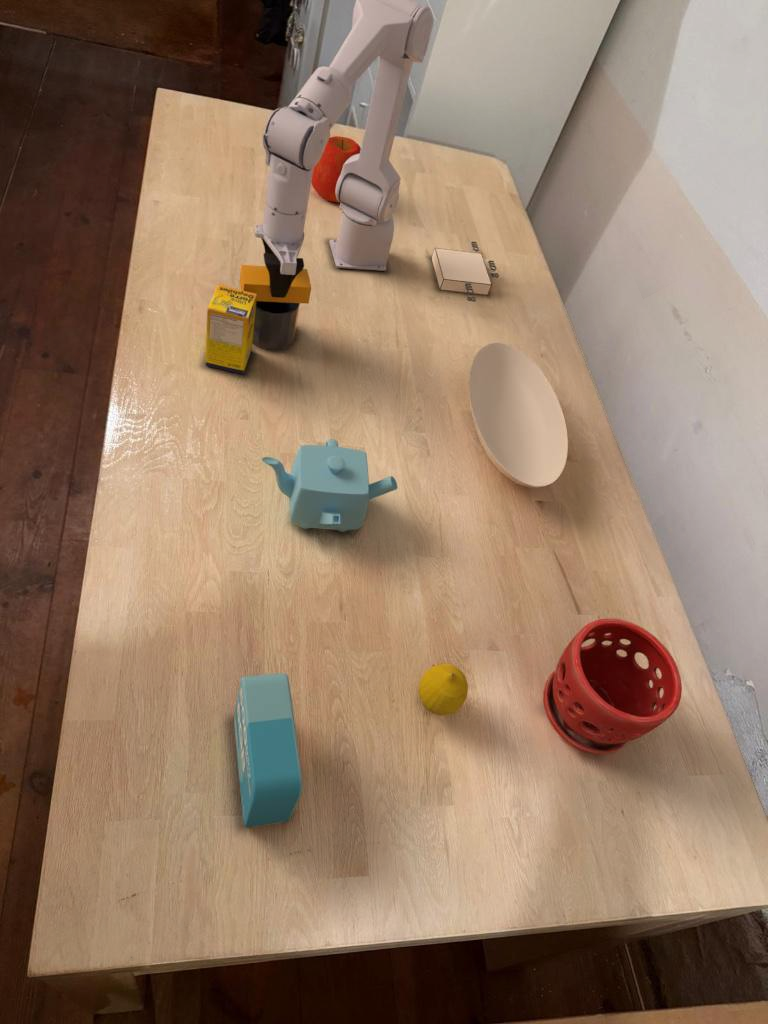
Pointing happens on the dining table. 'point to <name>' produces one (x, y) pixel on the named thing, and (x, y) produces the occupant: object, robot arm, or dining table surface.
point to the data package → (267, 750)
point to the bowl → (517, 416)
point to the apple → (332, 165)
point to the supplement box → (230, 328)
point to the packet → (259, 283)
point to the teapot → (329, 486)
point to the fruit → (443, 689)
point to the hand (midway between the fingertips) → (276, 284)
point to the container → (462, 271)
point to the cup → (275, 324)
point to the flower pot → (610, 687)
